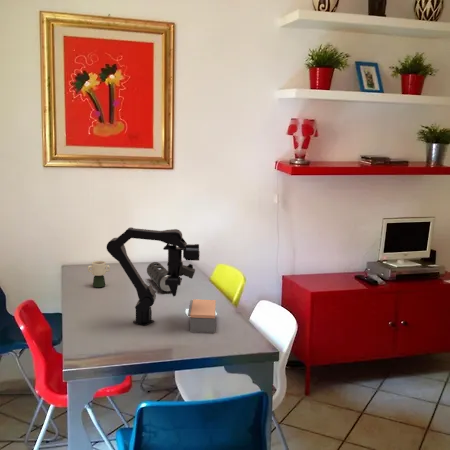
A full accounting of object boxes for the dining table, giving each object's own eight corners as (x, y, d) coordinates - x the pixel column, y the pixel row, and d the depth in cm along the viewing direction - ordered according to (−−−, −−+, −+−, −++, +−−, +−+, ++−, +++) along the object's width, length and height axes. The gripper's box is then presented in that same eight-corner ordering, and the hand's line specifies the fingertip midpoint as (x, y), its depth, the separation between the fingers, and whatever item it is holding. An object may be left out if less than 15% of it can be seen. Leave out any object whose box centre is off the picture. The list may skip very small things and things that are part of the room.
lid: (187, 317, 213) (187, 314, 213) (190, 301, 233) (190, 299, 233) (214, 318, 213) (215, 315, 213) (215, 302, 233) (215, 300, 233)
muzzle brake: (163, 279, 292) (163, 260, 290) (177, 293, 266) (177, 273, 264) (146, 280, 288) (146, 261, 287) (158, 295, 263) (158, 275, 261)
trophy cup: (109, 284, 278) (109, 260, 276) (109, 288, 271) (109, 263, 269) (88, 285, 276) (88, 261, 274) (88, 289, 269) (87, 264, 267)
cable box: (190, 332, 214) (190, 318, 213) (193, 308, 243) (194, 296, 242) (214, 332, 214) (215, 318, 213) (215, 309, 243) (215, 296, 242)
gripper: (192, 265, 210) (192, 303, 213) (195, 255, 229) (194, 290, 231) (165, 265, 210) (164, 302, 213) (169, 254, 228) (169, 289, 231)
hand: (174, 296), depth 222 cm, fingers closed
